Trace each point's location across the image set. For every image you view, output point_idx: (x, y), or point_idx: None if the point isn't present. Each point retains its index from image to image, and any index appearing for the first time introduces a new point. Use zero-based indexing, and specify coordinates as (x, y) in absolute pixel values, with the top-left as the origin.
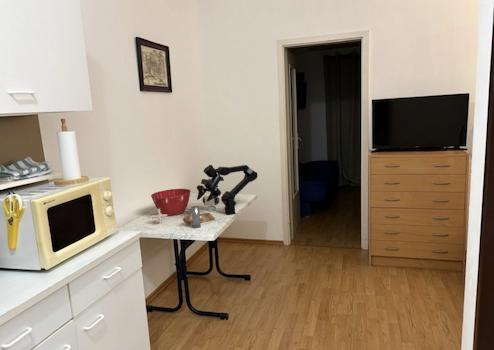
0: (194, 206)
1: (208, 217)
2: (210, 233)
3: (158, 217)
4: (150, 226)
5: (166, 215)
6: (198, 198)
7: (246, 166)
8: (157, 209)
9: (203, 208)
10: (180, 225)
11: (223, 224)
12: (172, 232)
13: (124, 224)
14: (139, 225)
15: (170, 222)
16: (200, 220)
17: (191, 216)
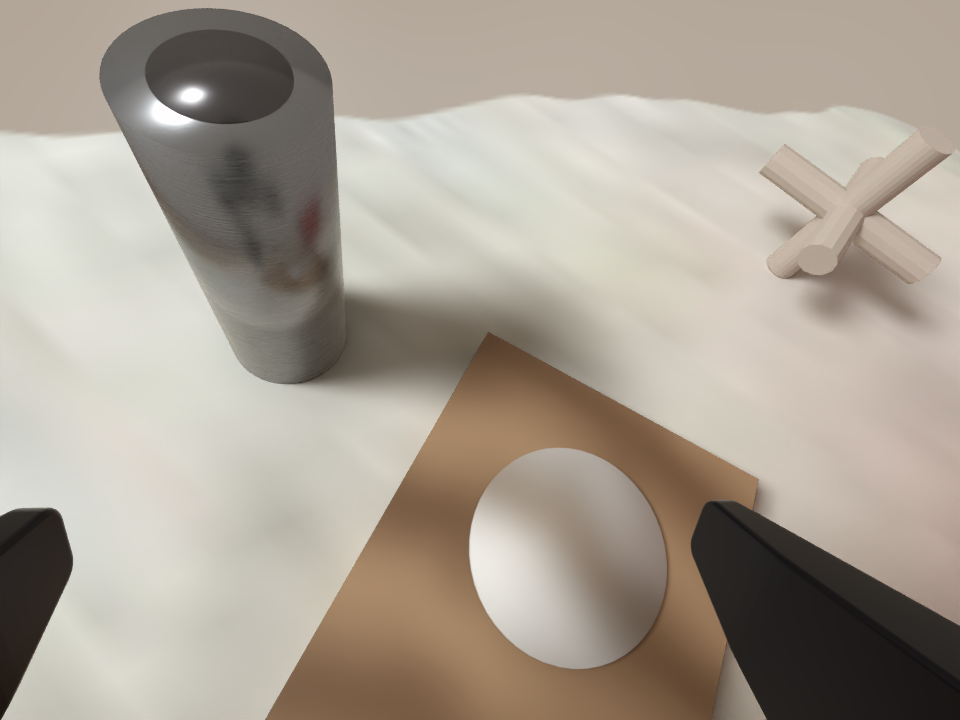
0: (272, 103)
1: (359, 689)
2: None
3: (778, 151)
4: (756, 182)
5: (808, 244)
6: (734, 572)
7: None
8: (927, 126)
9: None
10: (543, 301)
11: None
12: (413, 125)
13: (954, 157)
14: (851, 173)
15: (741, 333)
16: (394, 495)
17: (686, 555)
